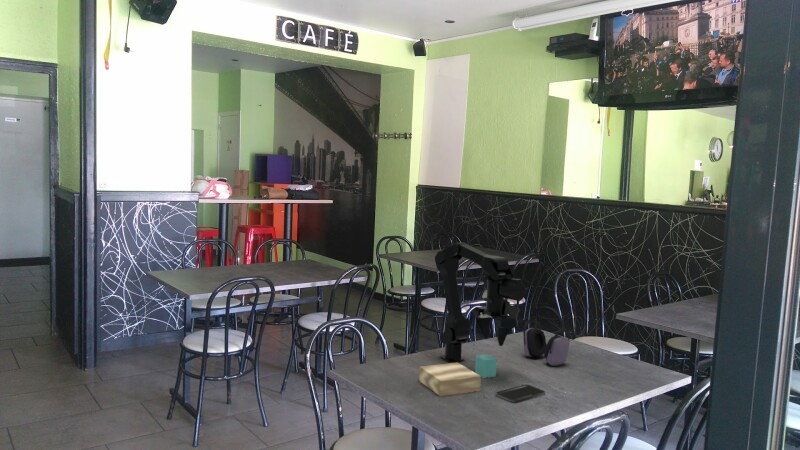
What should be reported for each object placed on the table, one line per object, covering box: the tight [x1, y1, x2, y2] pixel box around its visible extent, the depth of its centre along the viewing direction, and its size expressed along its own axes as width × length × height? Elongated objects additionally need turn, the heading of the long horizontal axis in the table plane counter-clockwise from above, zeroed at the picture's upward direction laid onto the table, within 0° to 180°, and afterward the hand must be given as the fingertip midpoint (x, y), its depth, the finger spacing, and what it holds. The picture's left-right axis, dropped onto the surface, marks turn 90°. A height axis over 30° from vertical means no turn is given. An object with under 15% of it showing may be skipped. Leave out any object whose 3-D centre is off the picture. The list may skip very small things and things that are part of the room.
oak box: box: [418, 361, 482, 397], centre depth 181 cm, size 14×14×5 cm
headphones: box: [523, 305, 571, 367], centre depth 211 cm, size 9×17×20 cm, turn 34°
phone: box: [495, 384, 546, 404], centre depth 176 cm, size 8×1×15 cm
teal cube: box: [474, 354, 498, 379], centre depth 193 cm, size 5×5×6 cm
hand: (493, 342), depth 192 cm, fingers open, 9 cm apart
